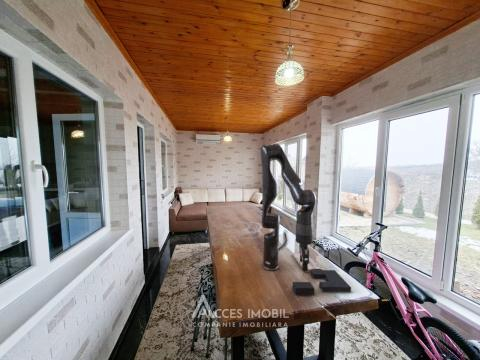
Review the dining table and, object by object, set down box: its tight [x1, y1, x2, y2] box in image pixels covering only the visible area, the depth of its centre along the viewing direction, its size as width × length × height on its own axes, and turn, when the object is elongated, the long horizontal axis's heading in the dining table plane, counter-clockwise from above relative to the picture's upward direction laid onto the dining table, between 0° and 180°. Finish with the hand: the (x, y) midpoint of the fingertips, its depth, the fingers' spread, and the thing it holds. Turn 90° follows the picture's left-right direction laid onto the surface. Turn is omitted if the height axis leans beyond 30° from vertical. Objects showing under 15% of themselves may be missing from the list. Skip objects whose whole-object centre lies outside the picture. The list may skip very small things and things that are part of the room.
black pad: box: [292, 281, 315, 296], centre depth 95 cm, size 5×9×4 cm, turn 91°
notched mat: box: [310, 269, 352, 293], centre depth 103 cm, size 16×14×2 cm
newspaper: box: [291, 252, 324, 273], centre depth 125 cm, size 23×12×2 cm, turn 4°
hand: (303, 266), depth 91 cm, fingers open, 8 cm apart
